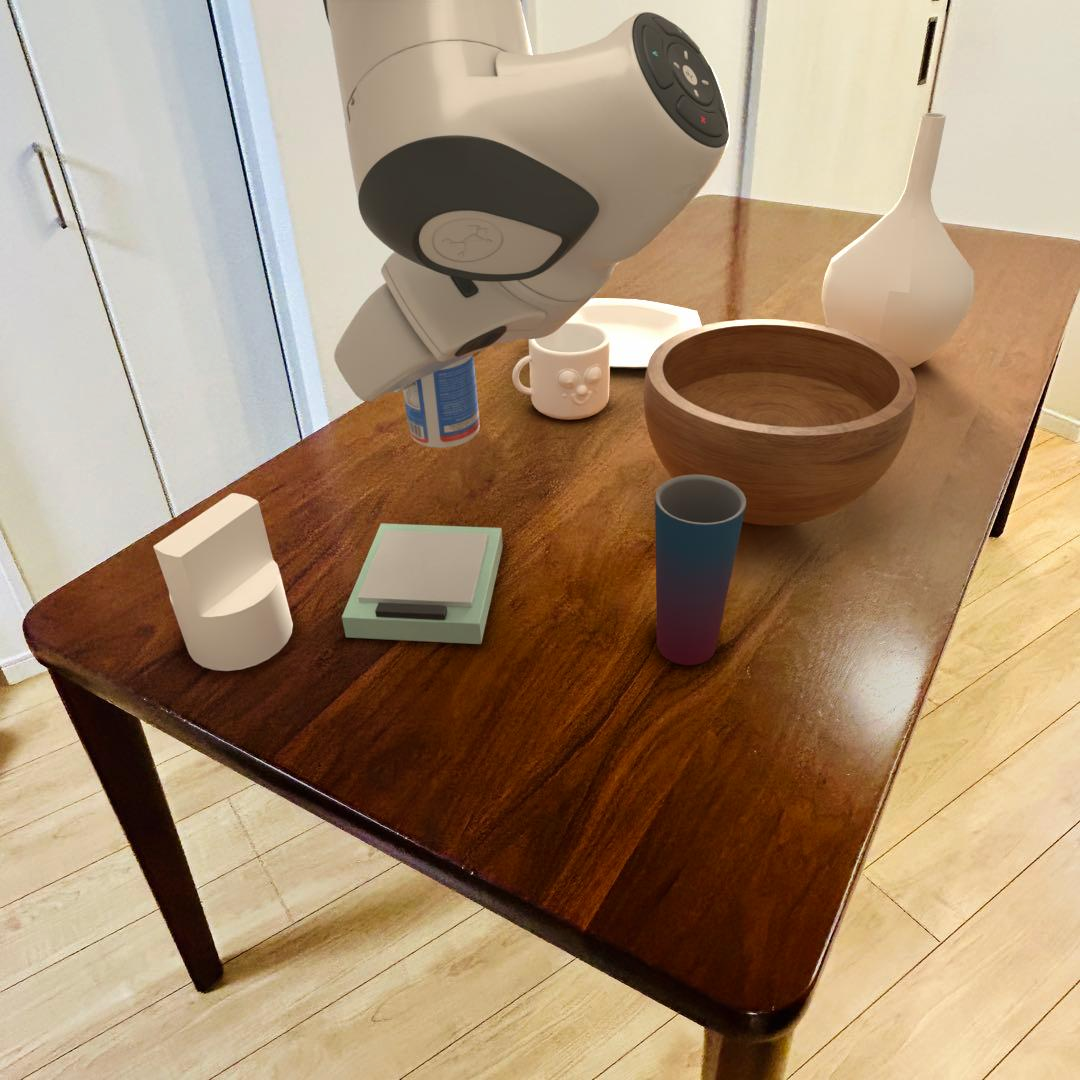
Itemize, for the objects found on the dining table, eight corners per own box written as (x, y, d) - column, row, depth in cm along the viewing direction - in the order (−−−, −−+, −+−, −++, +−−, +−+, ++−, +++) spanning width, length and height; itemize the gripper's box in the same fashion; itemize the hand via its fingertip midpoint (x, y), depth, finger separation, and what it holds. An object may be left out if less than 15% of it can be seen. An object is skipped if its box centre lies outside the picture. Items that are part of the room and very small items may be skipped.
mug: (525, 435, 106) (522, 364, 101) (504, 397, 114) (501, 329, 109) (621, 420, 109) (623, 350, 103) (594, 383, 117) (595, 316, 111)
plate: (684, 388, 115) (685, 374, 114) (513, 368, 121) (512, 354, 120) (713, 319, 133) (714, 306, 131) (562, 304, 139) (562, 291, 138)
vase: (783, 349, 124) (817, 113, 106) (873, 317, 132) (919, 93, 114) (892, 399, 111) (951, 141, 93) (984, 361, 119) (1055, 117, 101)
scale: (481, 644, 78) (478, 617, 76) (345, 637, 79) (339, 610, 77) (502, 547, 89) (501, 521, 87) (383, 542, 90) (379, 517, 88)
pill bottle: (486, 416, 71) (477, 296, 65) (472, 451, 66) (462, 326, 60) (418, 413, 71) (403, 294, 65) (400, 448, 67) (383, 324, 61)
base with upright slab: (241, 684, 74) (206, 570, 67) (165, 649, 78) (123, 537, 71) (314, 620, 81) (288, 509, 74) (239, 590, 84) (208, 482, 77)
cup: (742, 659, 75) (764, 511, 66) (669, 682, 73) (682, 533, 64) (701, 610, 80) (716, 466, 72) (632, 630, 78) (639, 485, 70)
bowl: (802, 615, 80) (830, 469, 71) (589, 508, 94) (590, 376, 85) (929, 497, 94) (966, 364, 85) (727, 420, 108) (741, 299, 99)
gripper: (603, 179, 61) (506, 287, 72) (364, 262, 49) (292, 376, 60) (654, 259, 61) (549, 354, 72) (428, 361, 49) (344, 456, 60)
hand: (430, 365), depth 66 cm, fingers closed on pill bottle, 5 cm apart
